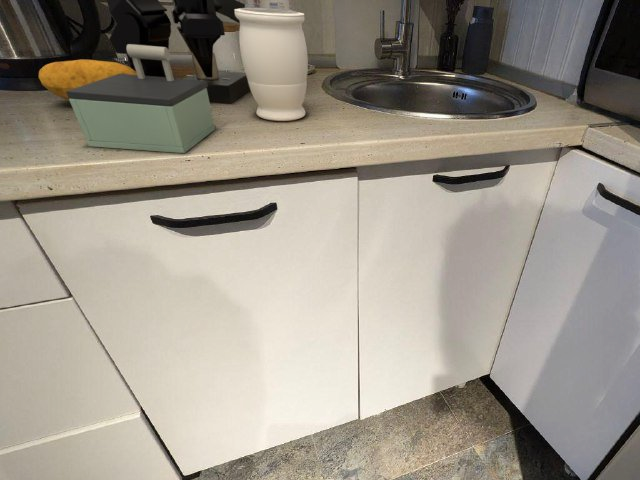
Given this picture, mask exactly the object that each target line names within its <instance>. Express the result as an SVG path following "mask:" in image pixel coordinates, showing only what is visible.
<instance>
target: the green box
mask: <svg viewBox="0 0 640 480" xmlns="http://www.w3.org/2000/svg"><path fill="white" fill-rule="evenodd" d="M68 101H69V103H70V105H71V108H72V110H73V112H74V115H75V118H76V119H77V122H78V124H79V126H80V129H81V131H82V134H83V136H84V139H85V140H86V141H85V142H86V143H87V145H88V147H93V148H107V149H109V148H110V149H120V150H121V149H122V150H133V151H134V150H136V151H147V152H161V153H175V154H176V153H177V154H186V153H187V152H188V151H189V150H191V149H192V148H193V147H195V146H196V145H197V144H198V143H200V142H201V141H202V140H204V139H205V138H206V137H208V136H209V135H210V134H211V133H213V132H214V131H215V130H216V126H215V122H214V116H213V112H212V107H211V102H209V97H208V93H207V88H204V89H202V90H200V91H199V92H197V93H195V94H193V95H191V96H189V97H187V98H186V99H184V100H182V101H180V102H178V103H176V104H174V105H173V106H163V105H150V104H137V103H125V102H112V101H99V100H86V99H73V98H70V99H69V100H68Z"/></svg>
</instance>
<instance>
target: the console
mask: <svg viewBox="0 0 640 480" xmlns="http://www.w3.org/2000/svg"><path fill="white" fill-rule="evenodd" d="M218 73H219V78H218V79H213V80H204V81H207V85H208V87H206V88H207V93H208V97H209V102H210V103H220V104H233V103H234V102H236V101H237V100H238V99H240V98H241V97H242V96H244V95H245V94H247V93H248V92H251V90H250V87H249V83H248V79H247V76H246V73H245V72H234V71H222V70H221V71H220V70H218ZM184 79H191V80H203V79H198V78H197V77H196V73H194V74H192V75H191V74H186V75H185V78H184Z"/></svg>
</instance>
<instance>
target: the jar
mask: <svg viewBox="0 0 640 480" xmlns="http://www.w3.org/2000/svg"><path fill="white" fill-rule="evenodd" d="M235 16H236V18H237V19H238V20H239V21H240V23H239V32H238V36H239V37H238V38H239V51H240V58H241V62H242V67H243V69H244V73H246V76H247V79H248V83H249V87H250V92H251V95H252V97H253V99H254V100H255V102H256V103H257V105H258V106H257V108H256V115H257V116H258V117H259V118H260V119H261V118H262V119H264V120H268V121H273V122H274V121H276V122H287V121H289V122H290V121H296V120H300V119H301V118H303V117H305V116H306V110H305V108H304V107H303V103H304V101H305V98H306V95H307V84H308V82H307V79H308V71H309V59H308V48H307V42H306V37H305V32H304V30H303V27H302V26H303V23H305V20H306V17H305V13H304V12H299V11H296V10H291V11H290V10H281V9H269V8H255V7H245V8H239V9H235Z"/></svg>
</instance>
